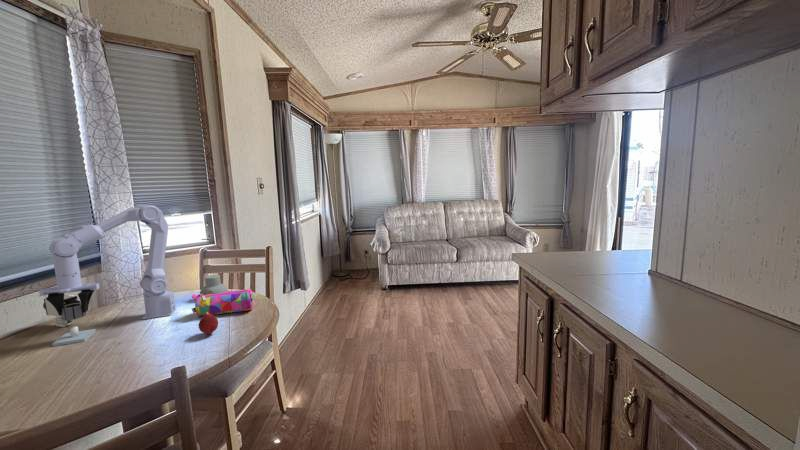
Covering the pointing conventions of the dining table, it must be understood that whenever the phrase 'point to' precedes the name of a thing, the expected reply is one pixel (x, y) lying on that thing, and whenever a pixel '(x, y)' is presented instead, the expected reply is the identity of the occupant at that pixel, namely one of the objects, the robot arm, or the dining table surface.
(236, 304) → the pencil case
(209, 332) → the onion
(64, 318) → the ring
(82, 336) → the square plate with peg
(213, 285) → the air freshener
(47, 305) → the pneumatic valve
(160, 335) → the dining table surface
